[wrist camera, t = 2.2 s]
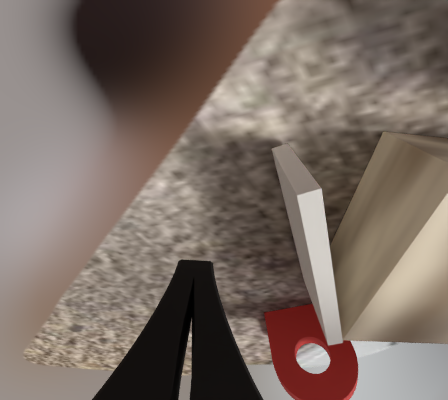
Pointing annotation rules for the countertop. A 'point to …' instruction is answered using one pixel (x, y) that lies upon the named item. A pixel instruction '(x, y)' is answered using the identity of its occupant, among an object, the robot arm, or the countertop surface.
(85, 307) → the countertop surface
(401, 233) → the cream rectangular block
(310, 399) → the bracket
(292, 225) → the door
